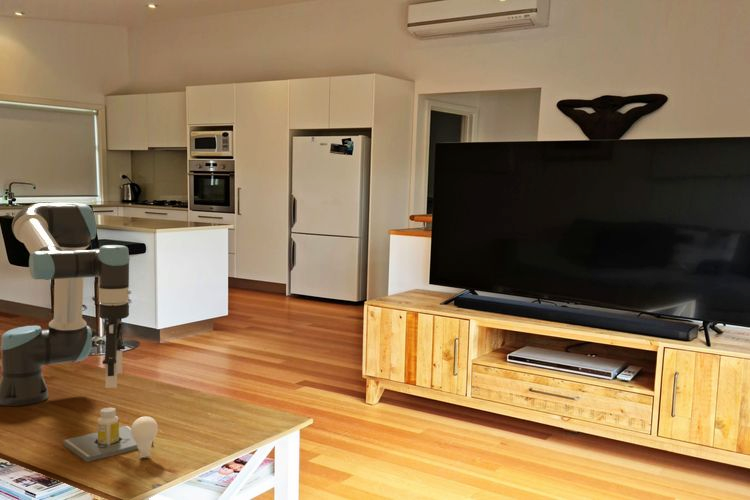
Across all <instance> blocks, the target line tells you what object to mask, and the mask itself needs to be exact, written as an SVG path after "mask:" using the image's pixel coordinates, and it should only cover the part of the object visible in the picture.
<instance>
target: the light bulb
mask: <svg viewBox="0 0 750 500" xmlns="http://www.w3.org/2000/svg"><path fill="white" fill-rule="evenodd" d="M158 427H159V426H158V423H157V421H156V420H155V419H154V418H153V417H151V416H146V415H145V416H141V417H138V418H137V419H135V420H134V421H133V423H132V424H131V434H132V437H133V438H134V440H135V441H136V443H137V447H138V449H137V450H138V453H137V454H138V457H139V458H141V459H147V458H149V457H151V456H150V455H151V449H152V446H153V445H152V442H153V443H154V440H155V437H156V436H157V435H158V431H159V428H158ZM151 445H152V446H151Z"/></svg>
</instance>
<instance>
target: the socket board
mask: <svg viewBox="0 0 750 500" xmlns="http://www.w3.org/2000/svg"><path fill="white" fill-rule="evenodd" d="M131 427H132V426H131ZM131 427H130V426H129V425H123V426H119V443H116V444H112V445H98V431H97V432H96V431H95V432H92V433H87V434H85V435H81V436H80V435H79V436H75V437H71V438H67V439H63V440H62V445H63V446H65V448H67V449H68V450H69V451H71V452H73V453H74V454H75V455H77V456H78V457H79V458H81V459H82V460H84V461H85V462H86V463H89V462H94V461H97V459H98V460H101V459H105V458H109V457H113V456H116V455H120V454H125V453H128V452H131V451H132V452H133V451H135V450H136V451H137V450H138V447H137V443H136V441H135V440H134V438H133V437H132V434H131ZM152 446H154V441H153V442H152V445H151V447H152Z"/></svg>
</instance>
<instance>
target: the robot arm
mask: <svg viewBox="0 0 750 500" xmlns="http://www.w3.org/2000/svg"><path fill="white" fill-rule="evenodd" d="M11 230H12V233H13V235H14V237H15V238H16V240H18V241H19V242H20V243H23V244H24V246H25V248H26V250H27V251H28V252H29V259H28V268H29V272H30V276H31V278H32V279H34V280H45V281H48V280H49V281H50V280H54V298H53V299H54V300H53V301H54V302H53V303H54V304H53V319H51V321H49V322H48V329H42V327H41V326H40V325H26V326H19V327H15V328H12V329H9V330H7V331H5V332H4V333H3V334H2V336H1V338H0V339H1V341H0V343H1V344H0V354H1V379H0V406H3V407H4V406H5V407H20V406H27V405H28V406H29V405H34V404H38V403H40V402H43V401H45V400H47V399H48V398H49V389H48V386H47V383H46V382H45V378H44V376H43V372H42V371H43V366H48V365H57V364H67V363H75V362H81V361H84V360H86V359H87V358H88V357H89V356H90V353H91V351H92V350H91V349H92V345H93V337H92V336H93V331H92V328H91V327H90V326H89V325H87V321H86V320H85V319H84V318H83V299H84V298H83V297H84V278H98V302H99V303H100V304H99V305H98V316H99V318H101V319H102V320H108V322H107V323H106V325H105V328H104V329H105V351H104V360H102V365H105V388H106V389H112V388H117V387H118V374H123V350H125V348H126V346H125V345H124V342H123V341H124V339H123V327H124V326H123V324H124V323H123V322H122V319H123V320H124V319H126V318H128V317H129V315H130V303H128V302H129V300H130V295H131V294H132V291H131V290H129V289H130V285H129V284H130V259H131V258H130V254H129V251H130V250H129V248H128V246H126V245H122V244H121V245H120V244H119V245H118V244H107V245H106V244H105V245H101V246H100V247H99V248H94V249H87V248H89V246H90V245H91V240H95V238H96V236H97V223H96V218H95V214H94V211H93V209H92V208H91V206H90V205H88V204H86V203H79V202H78V203H77V202H38V203H33V204H30V205H27V206H25V207H23V208H21V209H20V210H19V211H18V212H17V213H16V214H15V215H14V218H13V219H12V223H11Z"/></svg>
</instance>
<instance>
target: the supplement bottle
mask: <svg viewBox="0 0 750 500" xmlns="http://www.w3.org/2000/svg"><path fill="white" fill-rule="evenodd" d="M99 412H100V413H99V415H100V417H99V418H98V419H97V432H98V443H97V445H112V444H116V443H119V442H120V441H119V427H120V422H119V421H120V419H119V416H117V409H116V408H115V407H104V408H101V409H100V410H99Z"/></svg>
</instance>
